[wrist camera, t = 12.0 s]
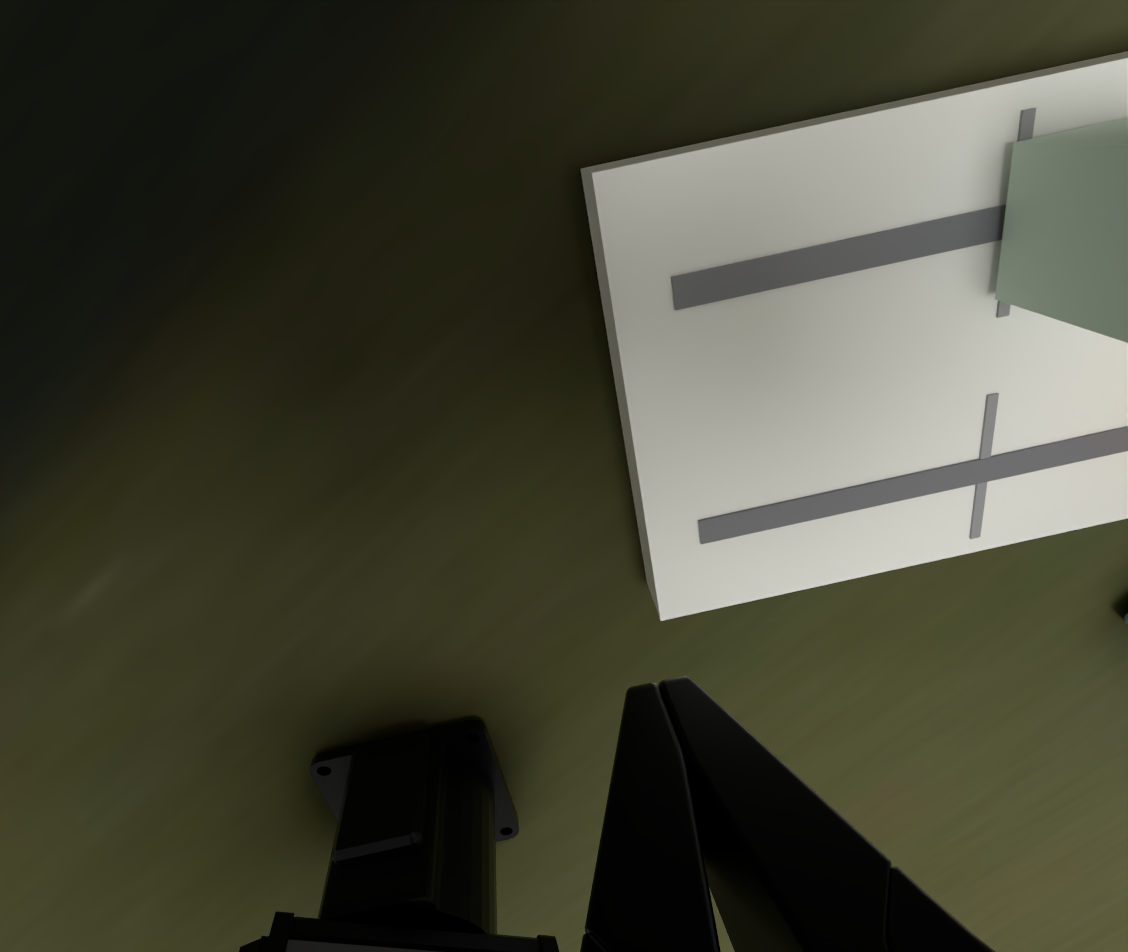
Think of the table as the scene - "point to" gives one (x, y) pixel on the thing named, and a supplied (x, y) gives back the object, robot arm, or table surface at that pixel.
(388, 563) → the table surface
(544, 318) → the table surface
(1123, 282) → the sage fader
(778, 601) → the table surface
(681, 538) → the mixer console
